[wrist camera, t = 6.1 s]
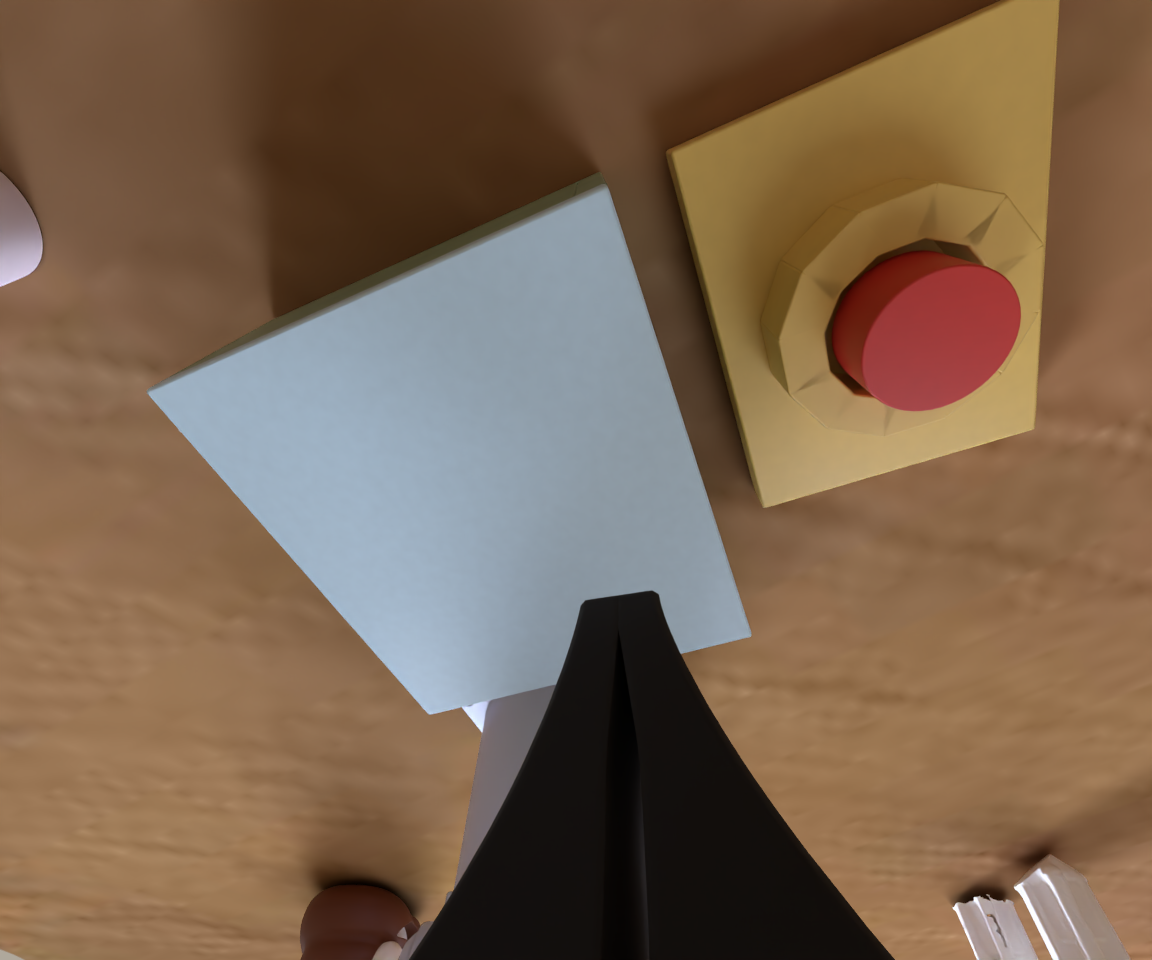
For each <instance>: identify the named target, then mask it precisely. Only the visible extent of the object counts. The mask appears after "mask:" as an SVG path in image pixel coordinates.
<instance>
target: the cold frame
mask: <svg viewBox="0 0 1152 960" xmlns="http://www.w3.org/2000/svg"><path fill="white" fill-rule="evenodd" d="M601 184H606V182H605V180H604V178H603V176H602V174H601V172H598V173H596V174H593V175H591V176H589V177H587V178H585V179H582V180H580V181H578V182H576V183H573V184H571V185H569V186H567V187H565V188H562V189H560V190H558V191H556V192H554V193H551V194H549V195H547V196H545V197H543V198H540V199H538V200H536V201H534V202H532V203H529V204H527V205H525V206H523V207H520V208H518V209H516V210H514V211H512V212H509V213H507V214H505V215H503V216H501V217H498V218H496V219H494V220H492V221H490V222H487V223H485V224H483V225H481V226H479V227H476V228H474V229H472V230H470V231H467V232H465V233H463V234H461V235H459V236H456V237H454V238H452V239H450V240H448V241H445V242H443V243H441V244H439V245H437V246H434V247H432V248H430V249H428V250H426V251H423V252H421V253H419V254H417V255H414V256H412V257H410V258H408V259H406V260H403V261H401V262H399V263H397V264H395V265H392V266H390V267H388V268H386V269H384V270H381V271H379V272H377V273H375V274H373V275H370V276H368V277H366V278H364V279H361V280H359V281H357V282H355V283H353V284H350V285H348V286H346V287H344V288H342V289H339V290H337V291H335V292H333V293H331V294H328V295H326V296H324V297H322V298H320V299H317V300H315V301H313V302H311V303H308V304H306V305H304V306H302V307H300V308H297V309H295V310H293V311H291V312H289V313H286V314H284V315H282V316H280V317H278V318H275V319H273V320H271V321H269V322H268V323H266V324H264V325H262V326H260V327H259V328H257V329H255V330H253V331H251V332H250V333H248V334H246V335H244V336H242V337H241V338H239V339H237V340H235V341H233V342H232V343H230V344H228V345H226V346H224V347H222V348H221V349H219V350H217V351H215V352H213V353H212V354H210V355H208V356H206V357H204V358H203V359H201V360H199V361H197V362H195V363H194V364H192V365H190V366H188V367H186V368H185V369H183V370H181V371H179V372H177V373H176V374H178V373H180V372H183V371H185V370H187V369H189V368H192V367H194V366H196V365H198V364H201V363H203V362H205V361H207V360H209V359H212V358H214V357H216V356H218V355H221V354H223V353H225V352H227V351H230V350H232V349H234V348H236V347H239V346H241V345H243V344H245V343H247V342H250V341H252V340H254V339H256V338H259V337H261V336H263V335H265V334H268V333H270V332H272V331H274V330H277V329H279V328H281V327H283V326H286V325H288V324H290V323H292V322H294V321H297V320H299V319H301V318H303V317H306V316H308V315H310V314H312V313H315V312H317V311H319V310H321V309H324V308H326V307H328V306H330V305H332V304H335V303H337V302H339V301H341V300H344V299H346V298H348V297H350V296H353V295H355V294H357V293H359V292H362V291H364V290H366V289H368V288H370V287H373V286H375V285H377V284H379V283H382V282H384V281H386V280H388V279H391V278H393V277H395V276H397V275H400V274H402V273H404V272H406V271H408V270H411V269H413V268H415V267H417V266H420V265H422V264H424V263H426V262H429V261H431V260H433V259H435V258H438V257H440V256H442V255H444V254H446V253H449V252H451V251H453V250H455V249H458V248H460V247H462V246H464V245H467V244H469V243H471V242H473V241H476V240H478V239H480V238H482V237H484V236H487V235H489V234H491V233H493V232H496V231H498V230H500V229H502V228H505V227H507V226H509V225H511V224H514V223H516V222H518V221H520V220H523V219H525V218H527V217H529V216H531V215H534V214H536V213H538V212H540V211H543V210H545V209H547V208H549V207H552V206H554V205H556V204H558V203H561V202H563V201H565V200H567V199H569V198H572V197H574V196H576V195H578V194H581V193H583V192H585V191H587V190H590V189H592V188H594V187H596V186H599V185H601ZM606 185H607V184H606ZM176 374H174V375H176ZM174 375H172V376H174ZM170 377H171V376H170Z"/></svg>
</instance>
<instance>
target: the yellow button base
mask: <svg viewBox="0 0 1152 960" xmlns="http://www.w3.org/2000/svg"><path fill="white" fill-rule="evenodd" d="M1058 17H1059V0H1000V1H998V2H996V3H994V4H991V5H989V6H987V7H985V8H982V9H980V10H978V11H976V12H974V13H971V14H969V15H967V16H965V17H962V18H960V19H958V20H956V21H954V22H951V23H949V24H947V25H945V26H942V27H940V28H938V29H936V30H933V31H931V32H929V33H927V34H925V35H922V36H920V37H918V38H916V39H913V40H911V41H909V42H907V43H905V44H902V45H900V46H898V47H896V48H893V49H891V50H889V51H887V52H885V53H882V54H880V55H878V56H876V57H873V58H871V59H869V60H867V61H864V62H862V63H860V64H858V65H856V66H853V67H851V68H849V69H847V70H844V71H842V72H840V73H838V74H836V75H833V76H831V77H829V78H827V79H824V80H822V81H820V82H818V83H815V84H813V85H811V86H809V87H807V88H804V89H802V90H800V91H798V92H795V93H793V94H791V95H789V96H787V97H784V98H782V99H780V100H778V101H775V102H773V103H771V104H769V105H767V106H764V107H762V108H760V109H758V110H755V111H753V112H751V113H749V114H746V115H744V116H742V117H740V118H738V119H735V120H733V121H731V122H729V123H726V124H724V125H722V126H720V127H718V128H715V129H713V130H711V131H709V132H706V133H704V134H702V135H700V136H697V137H695V138H693V139H691V140H689V141H686V142H684V143H682V144H680V145H677V146H675V147H673V148H671V149H669V150H667V151H666V157H667V161H668V165H669V169H670V172H671V176H672V180H673V184H674V188H675V191H676V195H677V199H678V203H679V206H680V210H681V214H682V218H683V222H684V225H685V229H686V233H687V237H688V241H689V244H690V248H691V252H692V256H693V259H694V263H695V267H696V271H697V275H698V278H699V282H700V286H701V290H702V293H703V297H704V301H705V305H706V309H707V312H708V316H709V320H710V324H711V327H712V331H713V335H714V339H715V343H716V346H717V350H718V354H719V358H720V362H721V365H722V369H723V373H724V377H725V380H726V384H727V388H728V392H729V396H730V399H731V403H732V407H733V411H734V414H735V418H736V422H737V426H738V430H739V433H740V437H741V441H742V445H743V449H744V452H745V456H746V460H747V464H748V467H749V471H750V475H751V479H752V483H753V486H754V490H755V493H756V495H757V497H758V499H759V501H760V503H761V505H762V507H764V508H766V507H770V506H773V505H776V504H780V503H783V502H787V501H790V500H794V499H797V498H800V497H804V496H807V495H811V494H814V493H817V492H821V491H824V490H828V489H831V488H835V487H838V486H841V485H845V484H848V483H852V482H855V481H859V480H862V479H865V478H869V477H872V476H876V475H879V474H882V473H886V472H889V471H893V470H896V469H900V468H903V467H906V466H910V465H913V464H917V463H920V462H924V461H927V460H930V459H934V458H937V457H941V456H944V455H947V454H951V453H954V452H958V451H961V450H965V449H968V448H971V447H975V446H978V445H982V444H985V443H989V442H992V441H995V440H999V439H1002V438H1006V437H1009V436H1012V435H1016V434H1019V433H1023V432H1026V431H1030V430H1033V429H1034V428H1035V420H1036V403H1037V385H1038V368H1039V350H1040V333H1041V315H1042V298H1043V280H1044V263H1045V245H1046V228H1047V210H1048V192H1049V175H1050V157H1051V140H1052V122H1053V105H1054V87H1055V70H1056V52H1057V35H1058ZM920 250H927V251H935V252H939V253H943V254H946V255H950V256H953V257H956V258H960V259H963V260H966V261H969V262H973V263H976V264H979V265H983V266H986V267H989V268H991V269H993V270H996V271H998V272H999V273H1001V274H1002V275H1003V276H1005V277H1006V278H1007V279H1008V280H1009V281H1010V282H1011V284H1012V285H1013V287H1014V288H1015V290H1016V293H1017V295H1018V298H1019V302H1020V306H1021V321H1020V328H1019V332H1018V336H1017V338H1016V341H1015V343H1014V346H1013V348H1012V349H1011V351H1010V353H1009V355H1008V357H1007V358H1006V360H1005V361H1004V363H1003V364H1002V365H1001V366H1000V368H999V369H998V370H997V371H996V372H995V373H994V374H993V376H992V377H991V378H990V379H989V380H988V381H986V382H985V383H984V384H983V385H982V386H980V387H979V388H978V389H976V390H975V391H974V392H972V393H971V394H969V395H967V396H966V397H964V398H962V399H960V400H958V401H956V402H954V403H952V404H949V405H946V406H944V407H940V408H937V409H933V410H926V411H903V410H899V409H895V408H892V407H889V406H887V405H885V404H883V403H882V402H880V401H879V400H878V399H876V398H875V397H874V396H873V395H872V394H870V393H869V392H868V391H867V390H866V389H865V388H864V387H862V386H861V385H860V384H859V383H858V382H857V381H856V380H854V379H853V378H852V377H851V376H850V375H849V374H848V373H846V372H845V371H844V369H843V368H842V367H841V366H840V364H839V363H838V361H837V359H836V357H835V355H834V351H833V347H832V327H833V322H834V318H835V315H836V312H837V310H838V308H839V306H840V304H841V302H842V300H843V298H844V297H845V295H846V294H847V292H848V291H849V290H850V288H851V287H852V286H853V285H854V284H855V283H856V281H857V280H858V279H859V278H860V277H862V276H863V275H864V274H865V273H866V272H867V271H869V270H870V269H871V268H873V267H874V266H876V265H877V264H879V263H881V262H883V261H884V260H886V259H889V258H891V257H893V256H896V255H899V254H902V253H905V252H911V251H920Z"/></svg>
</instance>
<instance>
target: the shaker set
mask: <svg viewBox="0 0 1152 960" xmlns="http://www.w3.org/2000/svg"><path fill="white" fill-rule="evenodd" d="M1014 888H1015V889H1016V890H1017V891H1018V892H1019V893H1020V894H1021V896H1022V898H1023V900H1024V902H1025V904H1026V906H1027V908H1028V910H1029V912H1030V914H1031V916H1032V918H1033V920H1034V922H1035V924H1036V926H1037V928H1038V930H1039V932H1040V934H1041V936H1042V938H1043V940H1044V942H1045V944H1046V946H1047V948H1048V950H1049V952H1050V954H1051V957H1052V959H1053V960H1131V958H1130V957H1129V955H1128V953H1127V951H1126V950H1125V948H1124V946H1123V944H1122V942H1121V941H1120V939H1119V937H1118V935H1117V934H1116V932H1115V930H1114V928H1113V927H1112V925H1111V923H1110V921H1109V920H1108V918H1107V916H1106V914H1105V913H1104V911H1103V909H1102V907H1101V906H1100V904H1099V902H1098V900H1097V899H1096V897H1095V895H1094V893H1093V892H1092V890H1091V888H1090V886H1089V885H1088V881H1087V879H1086V878H1085V877H1084V876H1083V875H1082V874H1081V873H1080V872H1079V871H1077V870H1076V869H1074V868H1072V867H1071V866H1069V865H1068V864H1066V863H1064V862H1063V861H1061V860H1059V859H1058V858H1056V857H1054V856H1053V855H1051V854H1048V855H1047V856H1046V857H1044V858H1043V859H1042V860H1040V861H1039V862H1038V863H1037V864H1036V865H1035V866H1033V867H1032V868H1031V869H1030V870H1029V871H1027V873H1026V874H1024V875H1023V877H1022V878H1021V879H1020V880H1019V881H1018V882H1017V883H1016V884H1015V885H1014ZM986 895H987V894H986ZM987 896H989V899H990V901H989V900H987V899H983V897H980V896H978V897H973V898H974V900H973V901H969V903H966V904H964V903H960V902H957V903H956V904H955V907H954V908H953V907H952V908H953V909H954V910H955V911H956V912H957V914H958V917H959V919H960V921H961V923H962V926H963V929H964V930H965V933H966V935H967V937H968V939H969V942H970V944H971V946H972V948H973V951H974V953H975V956H976V958H977V960H1039V959H1038V957H1037V955H1036V953H1035V951H1034V949H1033V946H1032V944H1031V942H1030V940H1029V938H1028V936H1027V934H1026V932H1025V929H1024V927H1023V925H1022V923H1021V921H1020V919H1019V917H1018V915H1017V913H1016V910H1015V908H1014V906H1013V905H1014V903H1013V902H1011V900H1007V899H1006V902H1003V900H1002V901H997V900H995V899H992V898H990V895H987ZM987 914H990V916H989V917H988V916H987Z"/></svg>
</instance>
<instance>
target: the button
mask: <svg viewBox="0 0 1152 960" xmlns="http://www.w3.org/2000/svg"><path fill="white" fill-rule="evenodd" d="M1020 321H1021V306H1020V302H1019V298H1018V295H1017V293H1016V290H1015V288H1014V287H1013V285H1012V284H1011V282H1010V281H1009V280H1008V279H1007V278H1006V277H1005V276H1003V275H1002V274H1001V273H999V272H998V271H996V270H993V269H991V268H989V267H986V266H983V265H979V264H976V263H973V262H969V261H966V260H963V259H960V258H956V257H953V256H950V255H946V254H943V253H939V252H935V251H927V250H920V251H911V252H905V253H902V254H899V255H896V256H893V257H891V258H889V259H886V260H884V261H883V262H881V263H879V264H877V265H876V266H874V267H873V268H871V269H870V270H869V271H867V272H866V273H865V274H864V275H863V276H862V277H860V278H859V279H858V280H857V281H856V283H855V284H854V285H853V286H852V287H851V288H850V290H849V291H848V292H847V294H846V295H845V297H844V298H843V300H842V302H841V304H840V306H839V308H838V310H837V312H836V315H835V318H834V322H833V327H832V347H833V351H834V355H835V357H836V359H837V361H838V363H839V364H840V366H841V367H842V368H843V369H844V371H845V372H846V373H848V374H849V375H850V376H851V377H852V378H853V379H854V380H856V381H857V382H858V383H859V384H860V385H861V386H862V387H864V388H865V389H866V390H867V391H868V392H869V393H870V394H872V395H873V396H874V397H875V398H876V399H878V400H879V401H880V402H882V403H883V404H885V405H887V406H889V407H892V408H895V409H899V410H903V411H926V410H933V409H937V408H940V407H944V406H946V405H949V404H952V403H954V402H956V401H958V400H960V399H962V398H964V397H966V396H967V395H969V394H971V393H972V392H974V391H975V390H976V389H978V388H979V387H980V386H982V385H983V384H984V383H985V382H986V381H988V380H989V379H990V378H991V377H992V376H993V374H994V373H995V372H996V371H997V370H998V369H999V368H1000V366H1001V365H1002V364H1003V363H1004V361H1005V360H1006V358H1007V357H1008V355H1009V353H1010V351H1011V349H1012V348H1013V346H1014V343H1015V341H1016V338H1017V336H1018V332H1019V328H1020Z"/></svg>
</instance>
